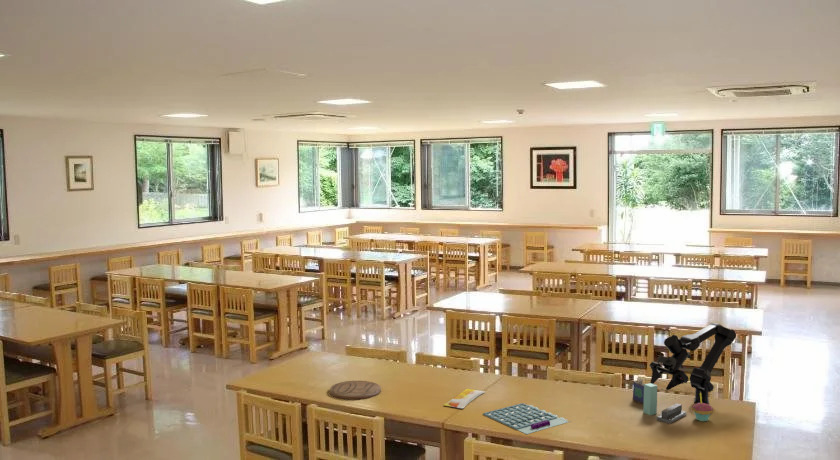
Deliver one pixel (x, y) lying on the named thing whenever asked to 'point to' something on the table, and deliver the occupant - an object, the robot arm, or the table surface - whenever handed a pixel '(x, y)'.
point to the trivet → (355, 390)
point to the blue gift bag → (638, 391)
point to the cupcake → (702, 410)
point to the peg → (650, 399)
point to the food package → (464, 398)
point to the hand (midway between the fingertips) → (658, 386)
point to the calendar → (525, 418)
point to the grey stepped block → (671, 414)
